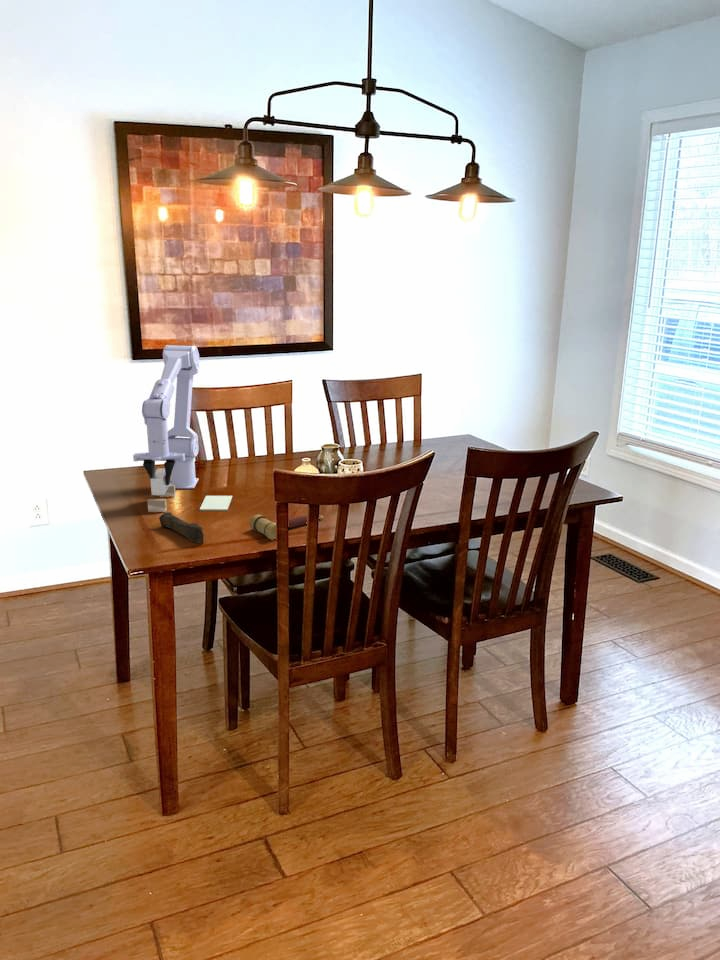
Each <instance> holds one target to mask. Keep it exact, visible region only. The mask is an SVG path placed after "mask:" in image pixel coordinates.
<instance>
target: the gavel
mask: <svg viewBox="0 0 720 960" xmlns="http://www.w3.org/2000/svg"><path fill="white" fill-rule="evenodd" d="M319 516H320V520H323V519H324V516H323V515H319ZM288 519H289V528H288V529H292V528H296V527H297V528H298V527H301V526H302V525H303V526H306V522H307V515H302V516H297V517H291V518H288ZM276 522H277V521H273V522H272V521H271V520H269V519H267V517H266V516H265V515H262V514H255V515H253V516H252V517H251V519H250V521H249V527H250V529H252V530H253V531H254V530H255V532H259V533H260V534H262V535H264V536H265V537H266V538H267V539H268V540H270V539H271V540H270V541H273V540H272V539H274V538H275V539H276ZM304 524H305V525H304ZM276 540H277V539H276Z"/></svg>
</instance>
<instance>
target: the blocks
mask: <svg viewBox="0 0 720 960" xmlns="http://www.w3.org/2000/svg"><path fill="white" fill-rule="evenodd" d="M175 495H176V488H175V485H170V486H169V488H168V489H167V491H166V493H165V494H164V495H157V497H158V496H160V497H159V498H148V499H147V501H146V502H147V512H148V513H160V512H161V513H167V511H168V510H167V509H168V507H167V499H166V498H162V497H161V496H172V497H171V498H175V497H176V496H177V495H176V496H175ZM166 510H167V511H166Z"/></svg>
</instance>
